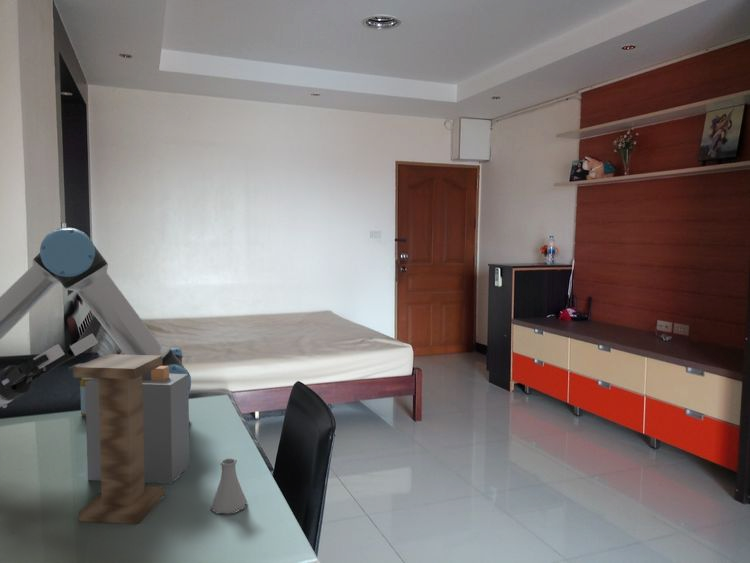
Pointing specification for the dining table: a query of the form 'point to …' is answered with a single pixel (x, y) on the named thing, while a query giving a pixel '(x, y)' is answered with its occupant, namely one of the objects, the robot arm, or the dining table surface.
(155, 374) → the grey long bar
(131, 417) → the stand
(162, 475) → the block
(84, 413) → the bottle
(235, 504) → the flask
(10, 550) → the dining table surface
